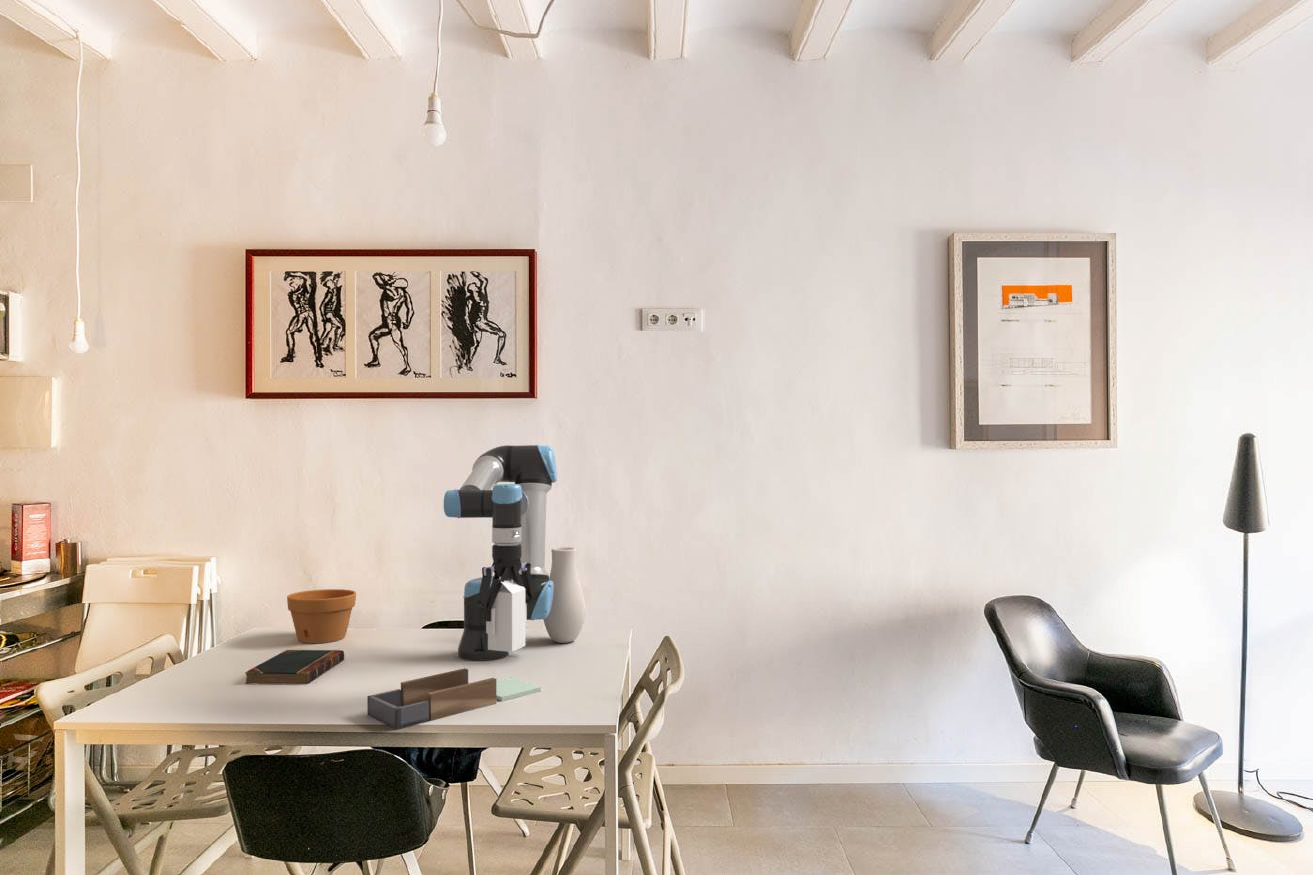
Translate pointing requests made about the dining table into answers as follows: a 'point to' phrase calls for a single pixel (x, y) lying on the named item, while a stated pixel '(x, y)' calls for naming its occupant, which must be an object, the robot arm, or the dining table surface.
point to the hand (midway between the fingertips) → (506, 630)
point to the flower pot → (321, 614)
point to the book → (294, 667)
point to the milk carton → (509, 618)
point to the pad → (513, 688)
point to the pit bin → (396, 710)
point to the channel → (449, 693)
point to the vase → (565, 597)
